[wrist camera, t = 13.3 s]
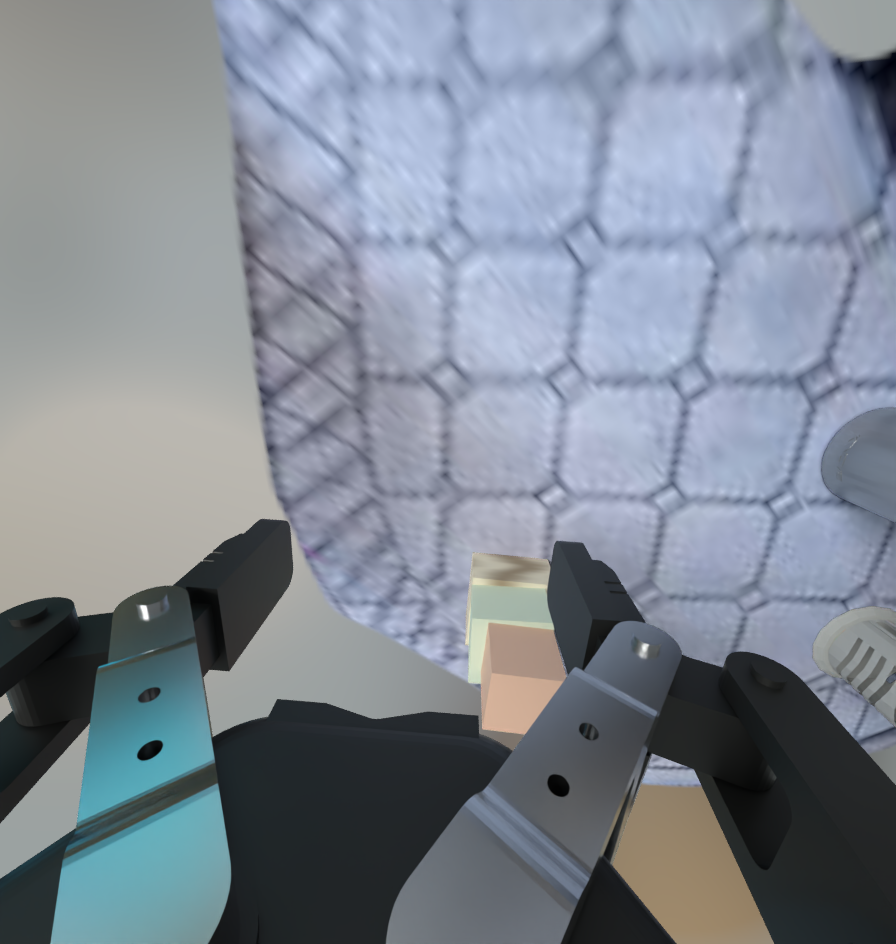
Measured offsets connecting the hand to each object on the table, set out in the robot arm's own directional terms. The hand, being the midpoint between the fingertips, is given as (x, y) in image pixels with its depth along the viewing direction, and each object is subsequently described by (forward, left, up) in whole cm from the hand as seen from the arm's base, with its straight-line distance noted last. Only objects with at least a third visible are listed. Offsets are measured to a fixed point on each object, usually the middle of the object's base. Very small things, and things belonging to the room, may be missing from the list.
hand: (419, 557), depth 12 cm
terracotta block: (-7, +19, -18) cm, 28 cm away
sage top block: (-7, +20, -23) cm, 31 cm away
